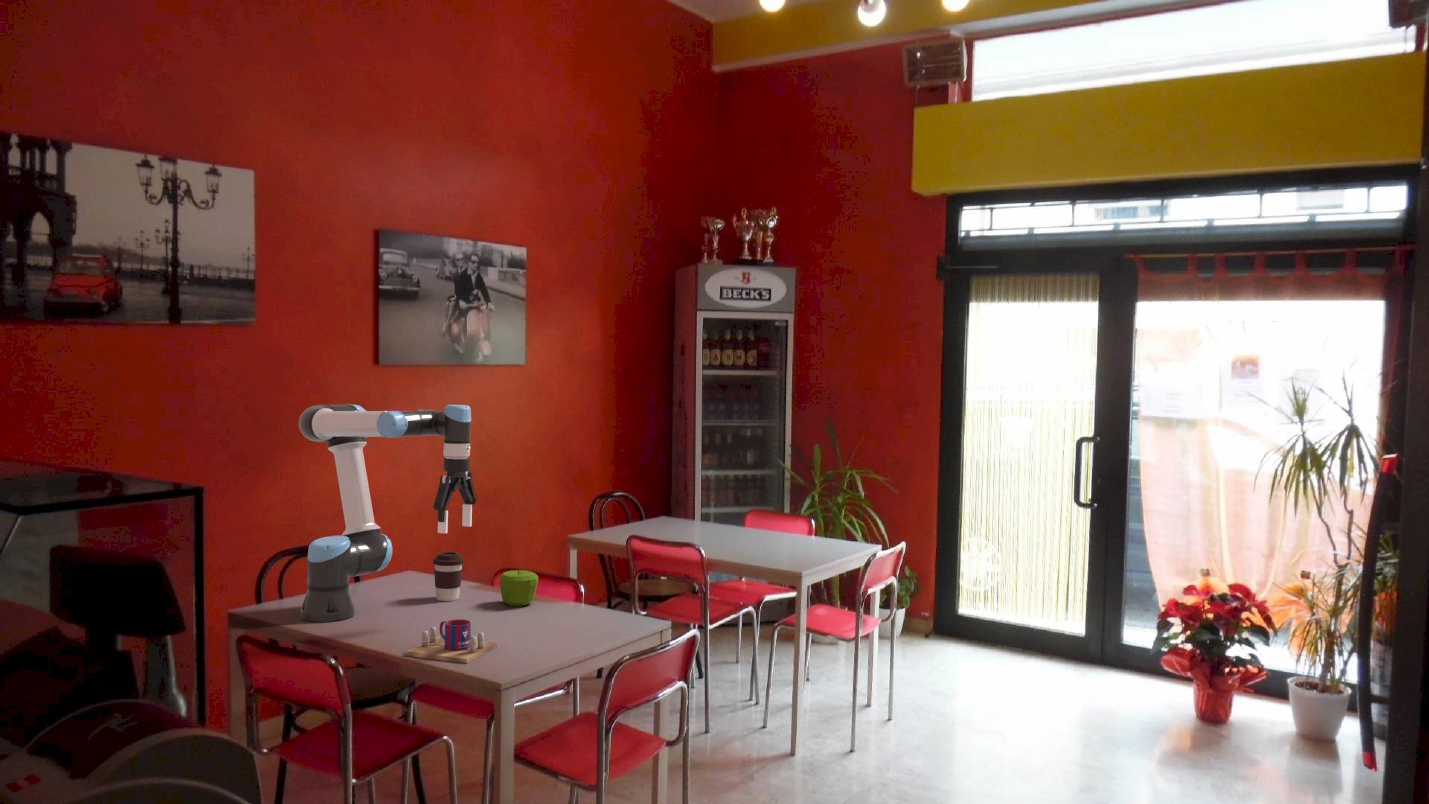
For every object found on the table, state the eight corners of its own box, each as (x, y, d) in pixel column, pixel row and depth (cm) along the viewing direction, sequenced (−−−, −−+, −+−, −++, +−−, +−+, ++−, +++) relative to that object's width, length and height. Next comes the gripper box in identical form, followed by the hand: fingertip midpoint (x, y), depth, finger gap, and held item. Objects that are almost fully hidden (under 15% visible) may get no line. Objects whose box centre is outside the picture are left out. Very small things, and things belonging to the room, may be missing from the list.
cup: (454, 652, 258) (455, 627, 258) (432, 644, 265) (432, 619, 264) (475, 647, 263) (475, 622, 263) (452, 640, 270) (453, 615, 270)
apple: (543, 606, 316) (544, 571, 315) (507, 610, 309) (508, 574, 309) (527, 598, 326) (528, 564, 326) (493, 601, 319) (493, 567, 319)
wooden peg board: (406, 655, 258) (406, 636, 258) (438, 640, 274) (439, 621, 273) (467, 663, 253) (467, 643, 253) (496, 647, 269) (497, 628, 268)
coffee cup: (469, 598, 323) (470, 553, 322) (446, 604, 314) (447, 557, 314) (448, 593, 328) (449, 549, 327) (425, 599, 320) (426, 553, 319)
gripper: (445, 461, 273) (443, 537, 274) (489, 454, 297) (487, 524, 298) (421, 460, 275) (420, 535, 276) (467, 453, 299) (465, 522, 300)
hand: (455, 529), depth 287 cm, fingers open, 13 cm apart
